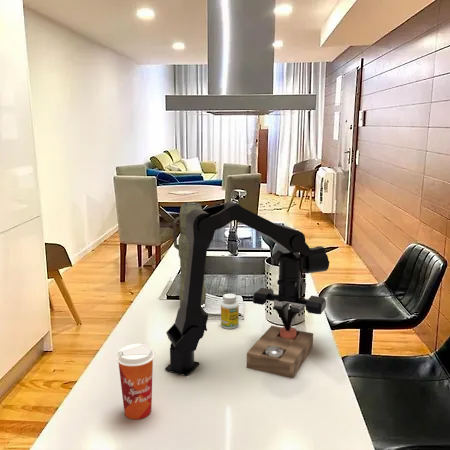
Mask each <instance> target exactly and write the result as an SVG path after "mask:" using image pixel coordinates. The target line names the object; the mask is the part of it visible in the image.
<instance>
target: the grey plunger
mask: <svg viewBox="0 0 450 450" xmlns="http://www.w3.org/2000/svg"><path fill="white" fill-rule="evenodd" d="M283 354H284V352H283V349H282V348H281V347H278V346H269V347H267V348H266V351H265V353H264V355H268V356H273V357H278V358H281V357H282V356H283Z"/></svg>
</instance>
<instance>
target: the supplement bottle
mask: <svg viewBox="0 0 450 450" xmlns="http://www.w3.org/2000/svg"><path fill="white" fill-rule="evenodd" d="M222 300H223V301H222V302H221V303H220V325H221V327H222V328H224V329H227V330H233V329H236V328H238V326H239V318H240V317H239V316H240V315H239V313H240V312H239V307H240V306H239V303H238V301H237V295H236V294H235V293H225V294H223V295H222Z"/></svg>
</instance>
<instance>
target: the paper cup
mask: <svg viewBox="0 0 450 450" xmlns="http://www.w3.org/2000/svg"><path fill="white" fill-rule="evenodd" d="M155 356H156V354H155V352H154V349H152V348H151V347H150V346H149V345H147V344H144V343H143V344H142V343H134V344H128V345H125V346H123V347H122V348H120V350H119V352H118V355H117V356H116V362H117V363H118V370H119V379H120V387H121V393H122V401H123V402H122V403H123V410H124V415H125V417H126V418H128V419H129V420H142V419H145V418H147V417H149V416H150V415H151V412H152V403H153V402H152V401H153V369H154V368H153V367H154V365H153V364H154V363H153V362H154V361H153V360H154V358H155Z"/></svg>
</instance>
